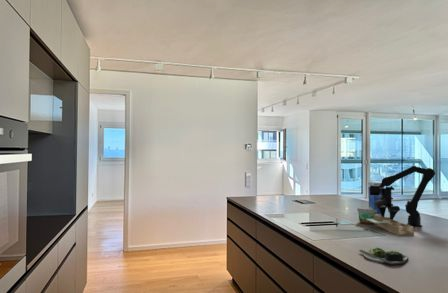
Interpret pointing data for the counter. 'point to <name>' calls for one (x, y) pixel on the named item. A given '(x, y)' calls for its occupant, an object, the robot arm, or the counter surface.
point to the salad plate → (385, 256)
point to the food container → (366, 215)
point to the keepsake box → (396, 227)
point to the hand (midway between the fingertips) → (387, 219)
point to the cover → (378, 219)
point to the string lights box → (374, 196)
